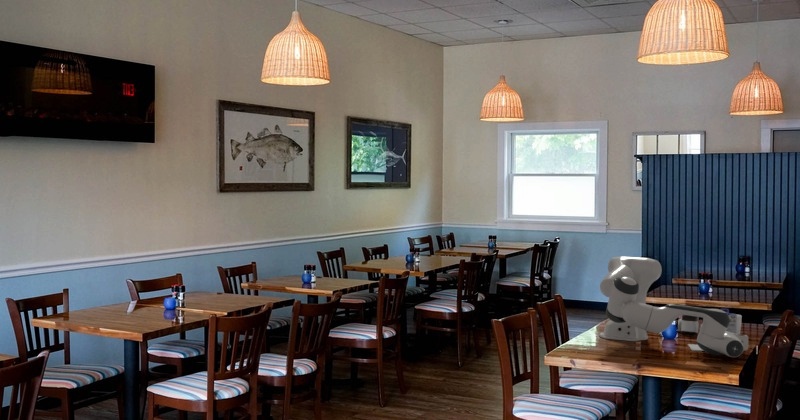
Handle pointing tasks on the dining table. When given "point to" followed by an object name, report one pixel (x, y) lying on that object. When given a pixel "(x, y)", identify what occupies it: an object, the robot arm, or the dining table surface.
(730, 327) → the ink cartridge box
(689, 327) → the spread jar
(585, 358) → the dining table surface
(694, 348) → the mat
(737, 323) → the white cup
